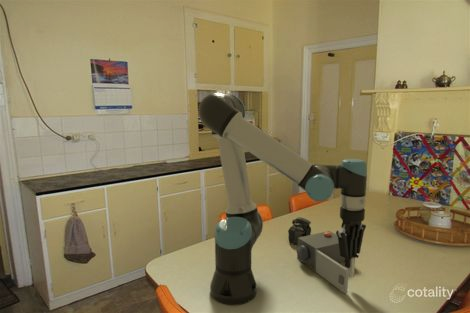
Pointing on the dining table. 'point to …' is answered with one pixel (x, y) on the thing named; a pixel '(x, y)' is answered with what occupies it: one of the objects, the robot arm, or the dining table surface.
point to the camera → (299, 229)
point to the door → (331, 271)
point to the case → (319, 247)
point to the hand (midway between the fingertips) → (349, 275)
